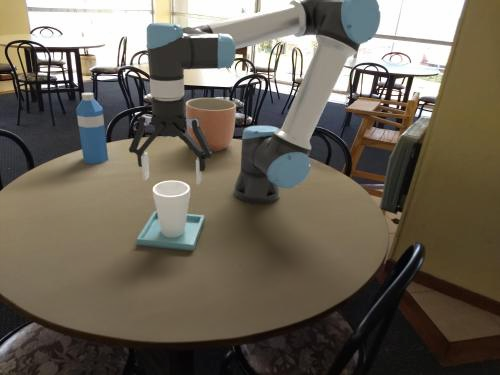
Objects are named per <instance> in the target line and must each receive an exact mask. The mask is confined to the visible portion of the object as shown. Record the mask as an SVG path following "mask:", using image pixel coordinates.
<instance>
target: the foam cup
mask: <svg viewBox="0 0 500 375" xmlns="http://www.w3.org/2000/svg"><path fill="white" fill-rule="evenodd" d="M152 197H153V200H154V205H155V209H156V210H155V211H157V215H158V220H159V224H160V229H161V233H162V234H163V235H164V236H166V237H173V238H174V237H178V236H181V235H182V234H183V233H184V232H185V226H186V218H187V214H188V211H189V202H190V198H191V186H190V185H189V184H188V183H186V182H185V181H180V180H170V179H169V180H165V181H161V182H159V183H156V184H155V185H154V186H153V187H152Z"/></svg>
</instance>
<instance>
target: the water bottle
mask: <svg viewBox="0 0 500 375" xmlns="http://www.w3.org/2000/svg"><path fill="white" fill-rule="evenodd" d="M76 118H77V124H78V132H79V137H80V144H81V151H82V156H83V157H82V158H83V162H84V163H87V164H90V165H93V164H94V165H95V164H102V163H103V164H104V163H105V162H107V161H109V153H108V147H107V137H106V136H107V135H106V128H105V121H104V110H103V106H102V105H100V103H99V102H98V101H97V100H96V99H95V95H94V92H82V93H81V100H80V102H79V103H78V105H77V107H76Z"/></svg>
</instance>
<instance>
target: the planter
mask: <svg viewBox="0 0 500 375" xmlns="http://www.w3.org/2000/svg"><path fill="white" fill-rule="evenodd" d="M236 115H237V104H236V103H235V102H234V101H232V100H228V99H225V98H224V99H223V98H217V97H198V98H192V99H189V100H187V101H186V102H185V117H186V119H194V118H198V119H199V125H200V128H201V130H202V132H203V134H204V136H205V138H206V140H207V142H208V144H209V146H210V148H211V150H212V152H213V153H214V152H219V151H223V150H225V149H227V147H228V146H229V145H230V144H231V142H232V141H233V137H234V133H235V125H236ZM186 130H187V131H188V133H189V135H190V136H191V137H192V138H193V140H194V141H195V142H196V143H197V144H198V145H199V147H200V148H201V146H200V144H199V142H198V140H197V138H196V136H195V134H194V132H193V129H191V128H190V126H189V125H186ZM201 149H202V148H201Z"/></svg>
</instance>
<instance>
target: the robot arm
mask: <svg viewBox="0 0 500 375" xmlns="http://www.w3.org/2000/svg"><path fill="white" fill-rule="evenodd" d="M380 23H381V11H380V5H379V2H378V0H291V1H290V2H289V4H288V5H285V6H282V7H277V8H272V9H269V10H268V9H267V10H264V11H259V12H256V13H251V14H246V15H242V16H238V17H234V18H233V17H232V18H229V19H225V20H221V21H215V22H212V23H208V24H204V25H203V24H202V25H199V26H193V27H191V26H186V27H182V25H180V23H175V22H174V23H173V22H172V23H171V22H168V23H167V22H152V23H150V24H148V25H147V27H146V50H147V62H148V71H149V88H150V96H152V97H151V101H150V103H151V114H152V116H148V115H147V113H145V114H144V113H143V114H142V115H141V116H140V117H139V118H138V119H139V120H138V127H137V130H136V132H135V134H134V137H133V139H132V141H131V143H130V146H129V149H128V151H129V153H131V154H132V153H134V154H135V155H136V156H137V164H138V165H137V166H138V167H139V168H141V169H142V170H141V172H142V181H148V179H149V177H150V176H151V175H150V165H149V152H145V151H146V150H147V149H148V148H149V146H150V145H151V144H152V143H153V141H154V140H155V139H156V138H157V137H158V136H159V135H161V136H162V137H170V138H177V137H179V139H180V140H182V142H184V144H186V146H187V147H188V148H189V149H190V150H191V151H192V153H193V154H194V155H195V156H196V157H197V158H196V160H195V177H196V178H195V180H196V182H195V183H196V185H200V184H201V182H202V181H203V180H202V172H205V169H206V159H210V158H211V157H212V156H213V153H214V151H213V152H212V150H211V148H210V146H209V144H208V142H207V140H206V138H205V136H204V134H203V132H202V130H201V128H200V125H199V119H198V118H194V119H186V102H185V97H184V95H185V75H184V74H185V72H184V71H185V70H203V69H204V70H205V69H207V70H210V69H217V70H220V69H226V68H227V69H228V68H230V67H232V66H233V64H234V62H235V60H236V50H239V49H242V48H246V47H250V46H253V45H257V44H261V43H265V42H269V41H272V40H273V41H274V40H277V39H280V38H284V37H288V36H292V35H293V36H294V37H296V38H300V37H305V36H315V39H316V42H317V47H316V50H315V51H314V54H313V56H312V58H311V61H310V62H309V65H308V67H307V70H306V71H305V74H304V76H303V79H302V81H301V84H300V86H299V87H298V89H297V92H296V94H295V97H294V99H293V101H292V104H291V106H290V108H289V109H288V112H287V114H286V117H285V119H284V122H283V125H281V128H279V127H276V126H272V125H251V126H248V127H247V126H246V127H245V128H244V129H243V131H242V137H241V152H240V153H241V156H240V172H239V174H238V176H237V179H236V182H235V184H234V187H233V189H234V190H233V192H234V197H236V198H237V199H238V200H241V201H242V202H245V203H247V204H248V203H249V204H253V205H254V204H255V205H264V204H270V203H273V202H275V201H276V200H278V199H279V197H280V188H281V189H292V188H295V187H296V186H299V185H300V184H302V183H303V182H304V181H305V180H306V179H307V178H308V176H309V174H310V172H311V170H312V169H311V167H312V164H311V160H310V158H309V155H310V153H311V150H312V145H311V142H310V140H311V138H312V135H313V133H314V131H315V129H316V126H317V125H318V123H319V120H320V118H321V116H322V114H323V112H324V109H325V107H326V106H327V103H328V102H329V99H330V97H331V95H332V93H333V91H334V89H335V86H336V84H337V81H338V79H339V78H340V75H341V73H342V71H343V68H344V67H345V64H346V63H347V60H348V59H349V58H350V57H352V56H354V55H355V56H356V55H357V52H358V51H359V48H360V46H361V44H362V45H363V44H364V43H368V41H370V40H372V39H373V38H374V36H375V35H376V34H377V32H378V29H379V28H380ZM149 124H152V126H153V127H154V128H155V129H154V130H153V132H151V134H150V135H149V136H148V137H147V139H146V140H145V141H144V143H143V144H142V145H141V146H140V147H139V145H140V142H141V140H142V137H143V135H144V133H145V132H146V128H147V126H149ZM187 125H189V126H190V128H191V129H193V132H194V134H195V136H196V138H197V140H198V142H199V144H200V146H201V148H202V149H201V148H200V147H199V145H198V144H197V143H196V142H195V141H194V140H193V138H192V137H191V136H190V135H189V133H188V131H187V128H186V127H187Z"/></svg>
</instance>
